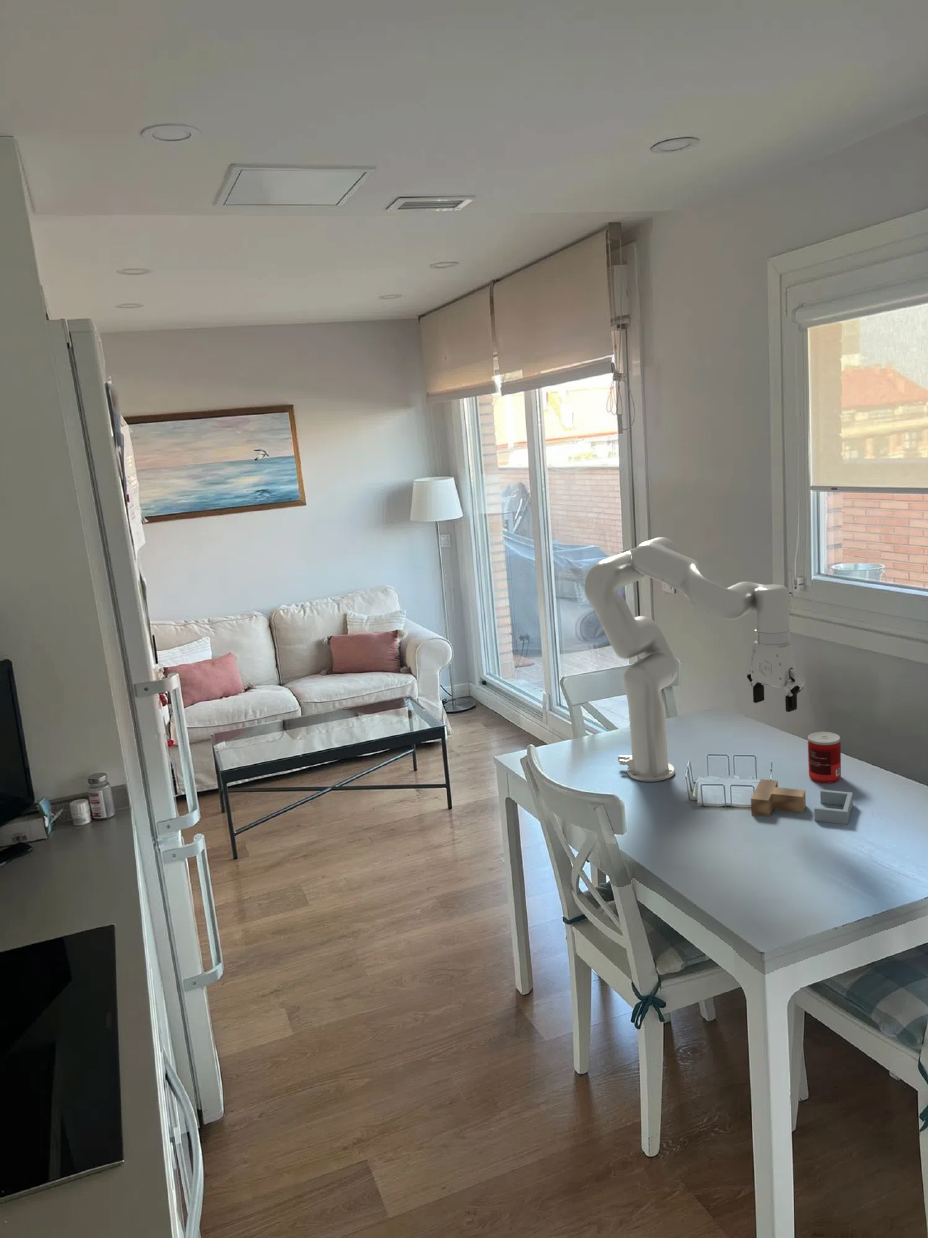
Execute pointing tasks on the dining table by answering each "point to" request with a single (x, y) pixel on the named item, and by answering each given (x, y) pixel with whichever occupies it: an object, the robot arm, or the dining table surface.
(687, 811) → the dining table surface
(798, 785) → the dining table surface
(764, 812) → the t block
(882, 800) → the dining table surface
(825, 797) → the bracket
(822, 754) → the canned food
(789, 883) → the dining table surface
